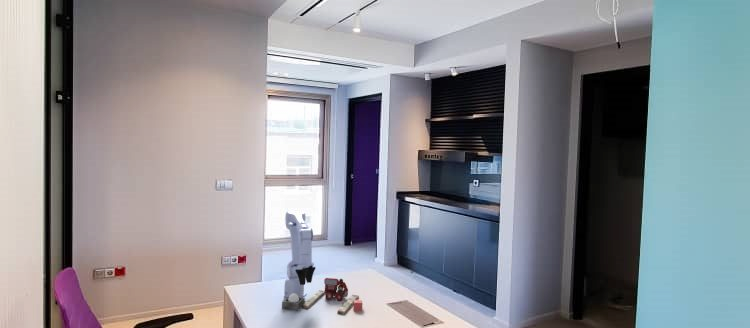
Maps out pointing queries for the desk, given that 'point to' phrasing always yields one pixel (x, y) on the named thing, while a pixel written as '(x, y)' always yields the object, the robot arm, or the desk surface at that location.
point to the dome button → (293, 298)
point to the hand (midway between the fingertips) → (305, 283)
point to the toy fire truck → (335, 289)
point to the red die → (357, 305)
